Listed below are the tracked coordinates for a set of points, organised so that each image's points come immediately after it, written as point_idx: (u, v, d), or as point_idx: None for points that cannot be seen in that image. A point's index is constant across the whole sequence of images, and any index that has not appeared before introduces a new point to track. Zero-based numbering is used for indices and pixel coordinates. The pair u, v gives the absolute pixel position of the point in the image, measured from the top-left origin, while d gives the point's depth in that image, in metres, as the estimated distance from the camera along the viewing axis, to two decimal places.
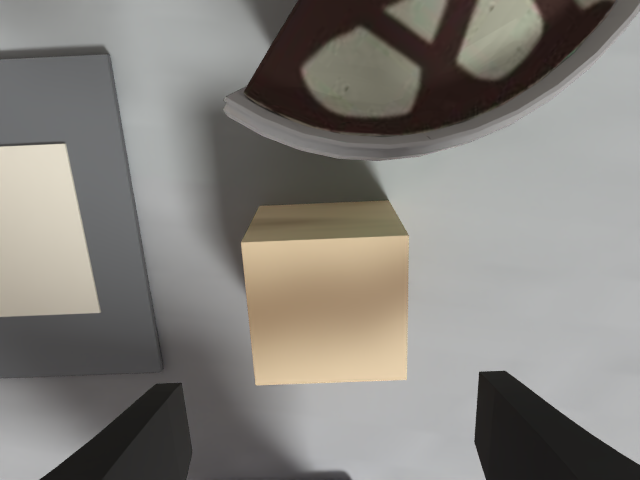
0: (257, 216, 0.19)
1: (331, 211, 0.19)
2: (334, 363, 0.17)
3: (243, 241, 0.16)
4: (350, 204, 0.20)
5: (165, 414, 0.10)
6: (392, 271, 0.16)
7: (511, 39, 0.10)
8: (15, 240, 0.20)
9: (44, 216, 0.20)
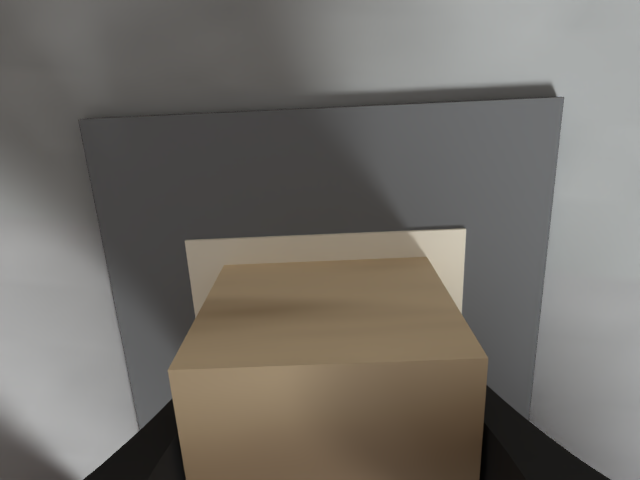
0: (214, 292, 0.11)
1: (337, 283, 0.11)
2: None
3: (173, 366, 0.08)
4: (367, 266, 0.12)
5: None
6: (455, 419, 0.09)
7: None
8: None
9: None
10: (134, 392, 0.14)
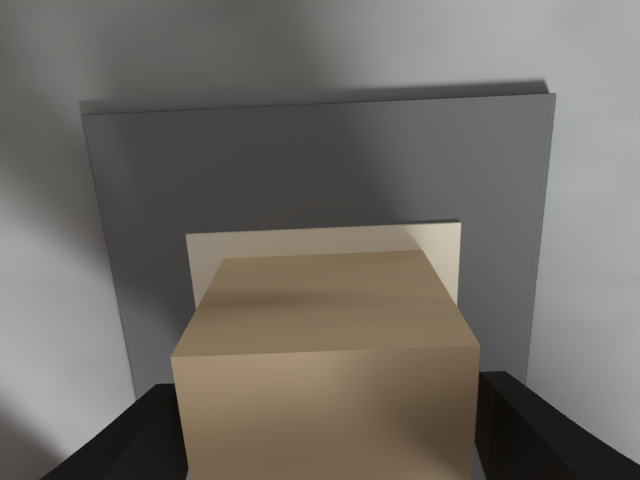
0: (215, 284, 0.12)
1: (335, 275, 0.12)
2: None
3: (176, 353, 0.09)
4: (364, 259, 0.13)
5: (165, 414, 0.10)
6: (448, 404, 0.09)
7: None
8: None
9: None
10: (136, 383, 0.15)
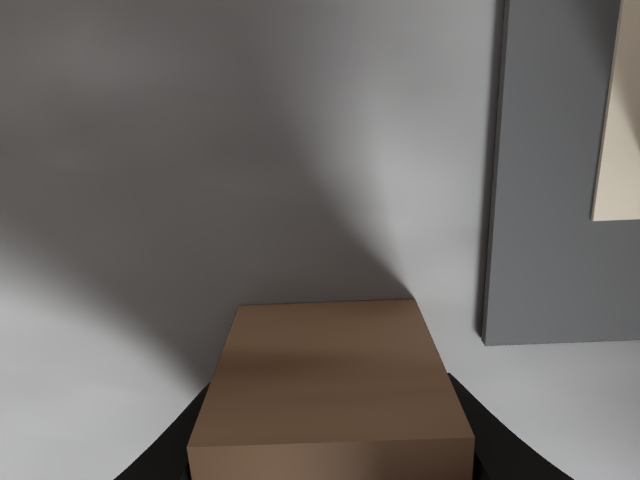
0: None
1: None
2: None
3: None
4: None
5: None
6: None
7: None
8: None
9: None
10: (506, 101, 0.10)
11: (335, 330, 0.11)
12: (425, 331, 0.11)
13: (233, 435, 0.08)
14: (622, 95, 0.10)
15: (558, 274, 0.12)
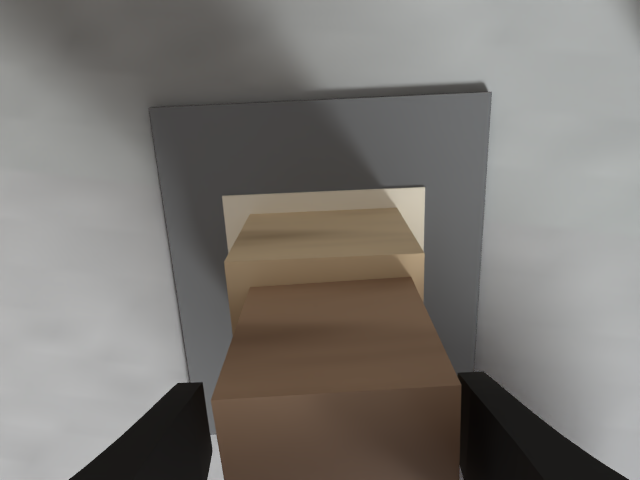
0: (246, 228, 0.16)
1: (332, 221, 0.16)
2: None
3: (227, 260, 0.13)
4: (353, 213, 0.17)
5: (189, 413, 0.10)
6: None
7: None
8: None
9: None
10: (181, 313, 0.19)
11: (338, 305, 0.12)
12: (420, 303, 0.12)
13: (250, 390, 0.09)
14: None
15: None
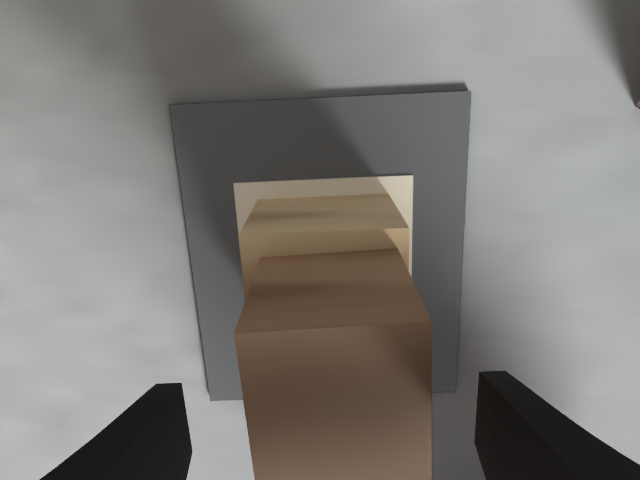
0: (255, 210, 0.18)
1: (330, 204, 0.19)
2: None
3: (240, 234, 0.16)
4: (349, 198, 0.20)
5: (165, 414, 0.10)
6: None
7: None
8: None
9: None
10: (196, 288, 0.22)
11: (335, 269, 0.14)
12: (404, 267, 0.14)
13: (265, 326, 0.11)
14: None
15: None
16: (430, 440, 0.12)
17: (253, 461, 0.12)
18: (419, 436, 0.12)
